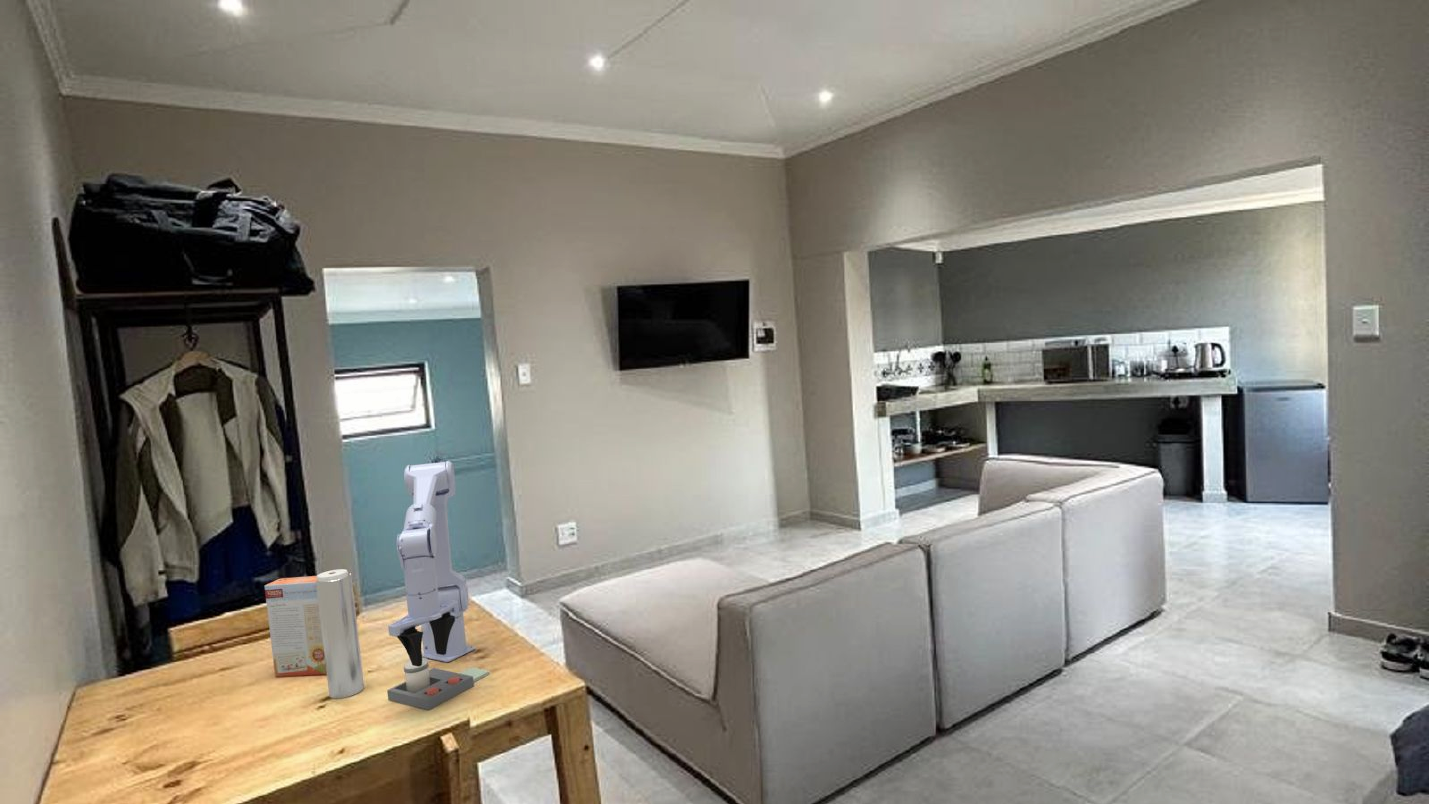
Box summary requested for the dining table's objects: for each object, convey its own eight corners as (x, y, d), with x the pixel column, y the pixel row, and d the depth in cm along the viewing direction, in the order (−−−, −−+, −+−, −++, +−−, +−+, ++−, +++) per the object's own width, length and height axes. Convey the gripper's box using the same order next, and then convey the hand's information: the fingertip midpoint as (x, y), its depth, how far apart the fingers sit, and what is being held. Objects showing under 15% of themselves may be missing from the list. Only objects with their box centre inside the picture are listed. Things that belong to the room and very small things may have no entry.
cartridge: (401, 697, 148) (398, 665, 147) (421, 687, 152) (418, 656, 151) (416, 700, 145) (413, 668, 145) (436, 690, 149) (433, 659, 149)
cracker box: (349, 663, 168) (339, 573, 167) (333, 675, 162) (322, 581, 161) (292, 666, 169) (281, 576, 168) (274, 677, 163) (262, 584, 162)
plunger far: (446, 689, 148) (445, 680, 148) (455, 685, 150) (454, 675, 150) (453, 691, 147) (452, 681, 147) (462, 686, 149) (461, 677, 149)
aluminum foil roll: (350, 699, 149) (335, 576, 147) (321, 698, 150) (307, 577, 149) (371, 684, 155) (357, 567, 154) (344, 684, 156) (330, 568, 155)
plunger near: (425, 700, 144) (424, 690, 144) (434, 695, 146) (433, 686, 145) (432, 702, 143) (431, 692, 142) (442, 697, 144) (441, 687, 144)
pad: (451, 680, 154) (451, 677, 154) (471, 670, 158) (470, 667, 158) (470, 684, 151) (469, 681, 151) (489, 673, 155) (489, 671, 155)
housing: (388, 700, 147) (387, 690, 147) (434, 677, 156) (433, 668, 156) (428, 710, 140) (427, 700, 140) (473, 686, 150) (472, 676, 150)
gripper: (402, 604, 135) (410, 677, 135) (466, 581, 147) (473, 648, 148) (378, 601, 138) (386, 672, 139) (442, 578, 151) (449, 643, 151)
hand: (429, 659), depth 144 cm, fingers open, 5 cm apart
